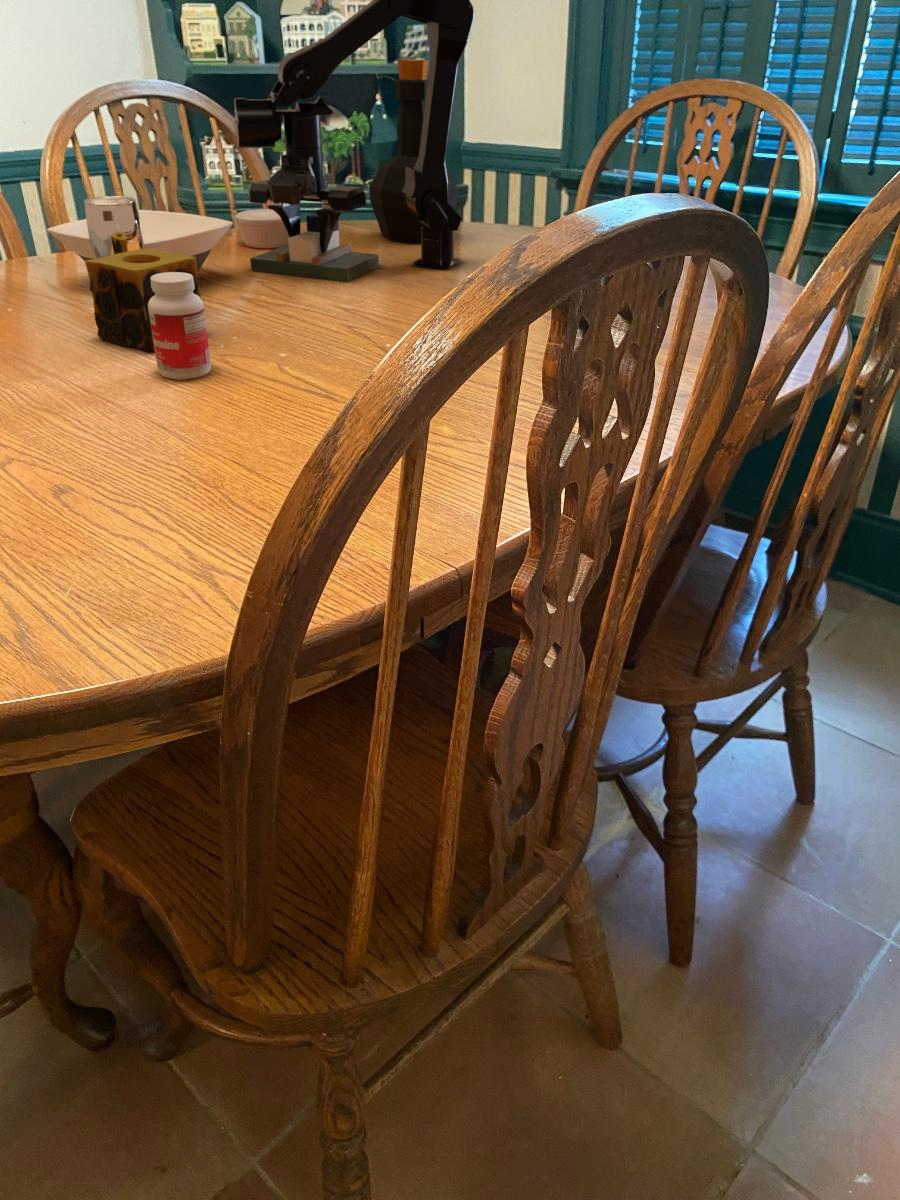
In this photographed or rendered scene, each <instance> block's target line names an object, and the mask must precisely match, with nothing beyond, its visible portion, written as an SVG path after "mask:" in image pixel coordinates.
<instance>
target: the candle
mask: <svg viewBox="0 0 900 1200" xmlns="http://www.w3.org/2000/svg"><path fill="white" fill-rule="evenodd" d="M84 263H85V267H86V270H87V274H88V279H89V290H90V292H91V295H92V301H93V312H94V314H93V316H94V321H95V325H96V327H97V332H96V333H97V336H98V339H100V340H102V341H105V342H107V343H108V342H109V343H113V344H117V345H120V346H125V347H131V348H132V347H133V348H136V349H140V350H142V351H145V352H150V353H151V352H155V349H154V343H153V337H152V330H151V323H150V317H149V310H148V303H149V300H150V299H151V298H152V297H153V296H154V295H155V292H153V290H152V288H151V280H150V278H151V276H153V275H155V274H159V273H166V272H181V273H188V274H191V275H192V276H193V280H194V285H195V287H194V288H195V289H194V290H193V293H194V294H196V295H197V296H199V297H200V298H201V299H202V296H201V288H200V283H199V280H198V279H199V272H198V273H197V262H196V258H195V257H192V256H187V255H182V254H176V253H169V252H163V251H157V250H151V249H139V250H134V251H129V252H123V253H118V254H114V255H110V256H106V257H101V258H97V259H92V260H86V261H84Z"/></svg>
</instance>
